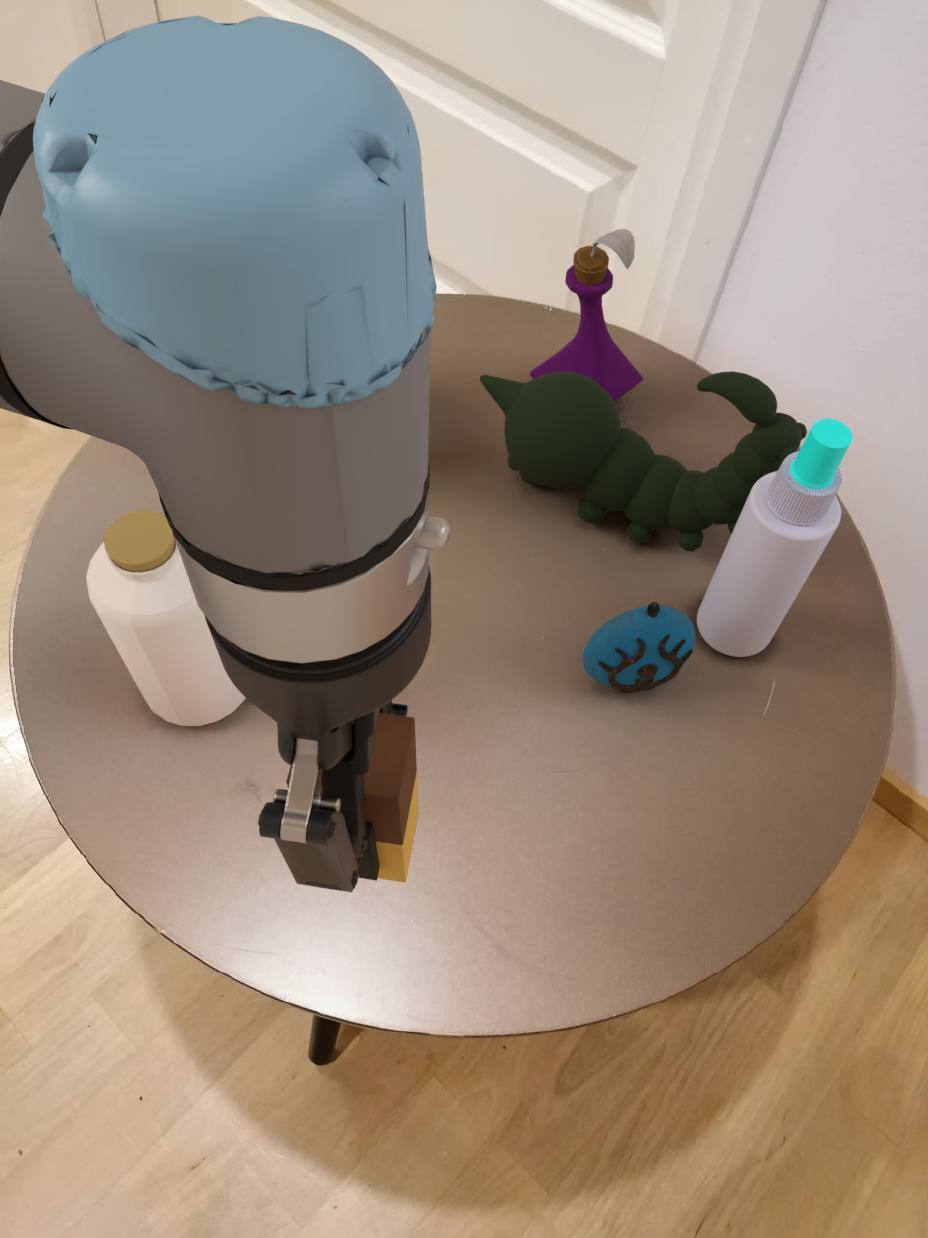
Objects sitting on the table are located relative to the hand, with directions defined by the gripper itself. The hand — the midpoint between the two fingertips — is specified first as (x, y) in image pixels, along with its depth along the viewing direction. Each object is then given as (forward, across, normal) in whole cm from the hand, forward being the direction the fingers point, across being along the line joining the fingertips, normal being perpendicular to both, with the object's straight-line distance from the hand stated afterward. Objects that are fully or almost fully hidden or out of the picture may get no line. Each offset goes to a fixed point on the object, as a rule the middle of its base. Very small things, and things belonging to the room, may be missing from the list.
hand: (362, 826), depth 50 cm
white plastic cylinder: (+15, +14, +16) cm, 26 cm away
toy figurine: (+15, +37, -13) cm, 42 cm away
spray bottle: (+15, +26, -24) cm, 38 cm away
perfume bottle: (+15, +49, -10) cm, 52 cm away
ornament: (+15, +20, -16) cm, 30 cm away
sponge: (+2, 0, 0) cm, 2 cm away
